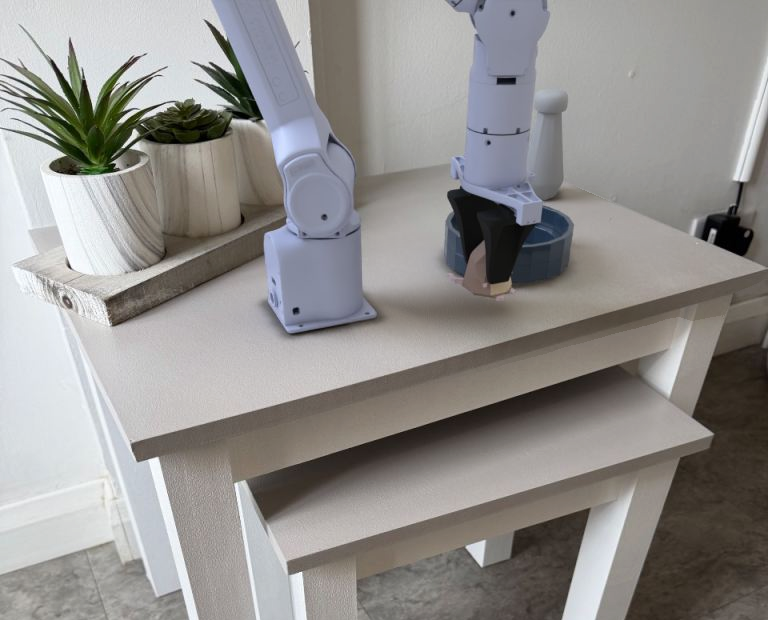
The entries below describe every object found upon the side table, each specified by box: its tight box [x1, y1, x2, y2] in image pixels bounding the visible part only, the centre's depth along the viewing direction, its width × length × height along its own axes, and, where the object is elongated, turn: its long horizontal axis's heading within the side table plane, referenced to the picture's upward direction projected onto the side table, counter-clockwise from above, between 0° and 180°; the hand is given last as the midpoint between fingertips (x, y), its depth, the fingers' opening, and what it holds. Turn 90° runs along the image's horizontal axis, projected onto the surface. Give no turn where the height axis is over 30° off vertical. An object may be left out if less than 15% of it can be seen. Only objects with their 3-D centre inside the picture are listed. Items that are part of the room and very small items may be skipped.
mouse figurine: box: [446, 241, 516, 302], centre depth 79 cm, size 5×8×7 cm, turn 48°
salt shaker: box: [526, 87, 569, 201], centre depth 104 cm, size 6×6×13 cm
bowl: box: [443, 204, 575, 285], centre depth 90 cm, size 14×14×4 cm
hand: (486, 272), depth 79 cm, fingers closed on mouse figurine, 4 cm apart
